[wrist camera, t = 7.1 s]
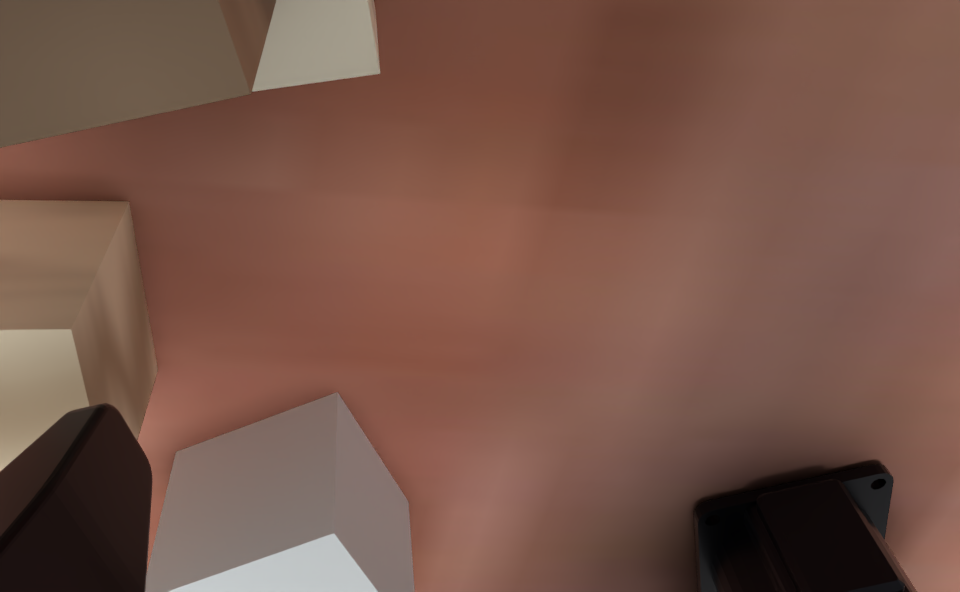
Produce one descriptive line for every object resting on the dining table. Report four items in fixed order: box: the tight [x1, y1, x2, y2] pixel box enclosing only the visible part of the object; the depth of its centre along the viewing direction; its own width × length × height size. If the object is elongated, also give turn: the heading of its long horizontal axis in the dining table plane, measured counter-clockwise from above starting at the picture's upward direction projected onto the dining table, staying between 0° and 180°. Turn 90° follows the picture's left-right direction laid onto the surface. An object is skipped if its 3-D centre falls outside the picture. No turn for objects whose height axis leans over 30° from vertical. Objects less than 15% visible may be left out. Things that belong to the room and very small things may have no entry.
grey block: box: [145, 392, 415, 592], centre depth 23 cm, size 5×5×5 cm
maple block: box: [0, 200, 158, 471], centre depth 19 cm, size 5×5×5 cm
